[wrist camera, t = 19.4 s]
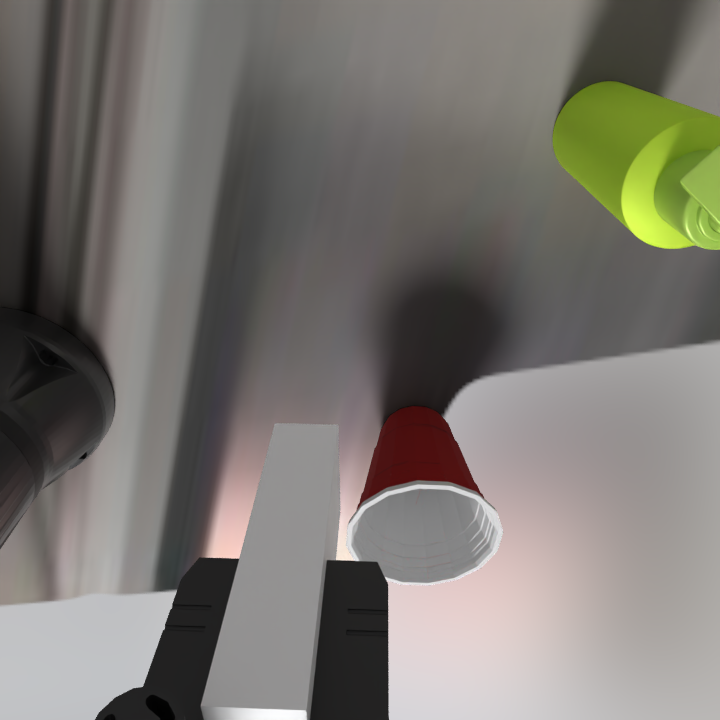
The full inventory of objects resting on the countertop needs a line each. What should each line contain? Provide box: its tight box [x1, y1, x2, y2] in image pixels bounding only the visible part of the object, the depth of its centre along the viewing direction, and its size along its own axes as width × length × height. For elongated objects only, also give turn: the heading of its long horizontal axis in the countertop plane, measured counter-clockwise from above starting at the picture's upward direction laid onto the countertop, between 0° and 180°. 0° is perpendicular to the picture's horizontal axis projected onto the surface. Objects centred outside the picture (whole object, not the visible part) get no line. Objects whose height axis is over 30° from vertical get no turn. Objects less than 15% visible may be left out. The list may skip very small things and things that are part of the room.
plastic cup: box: [346, 406, 503, 585], centre depth 46 cm, size 11×11×12 cm
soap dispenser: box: [553, 81, 720, 250], centre depth 29 cm, size 6×7×20 cm
